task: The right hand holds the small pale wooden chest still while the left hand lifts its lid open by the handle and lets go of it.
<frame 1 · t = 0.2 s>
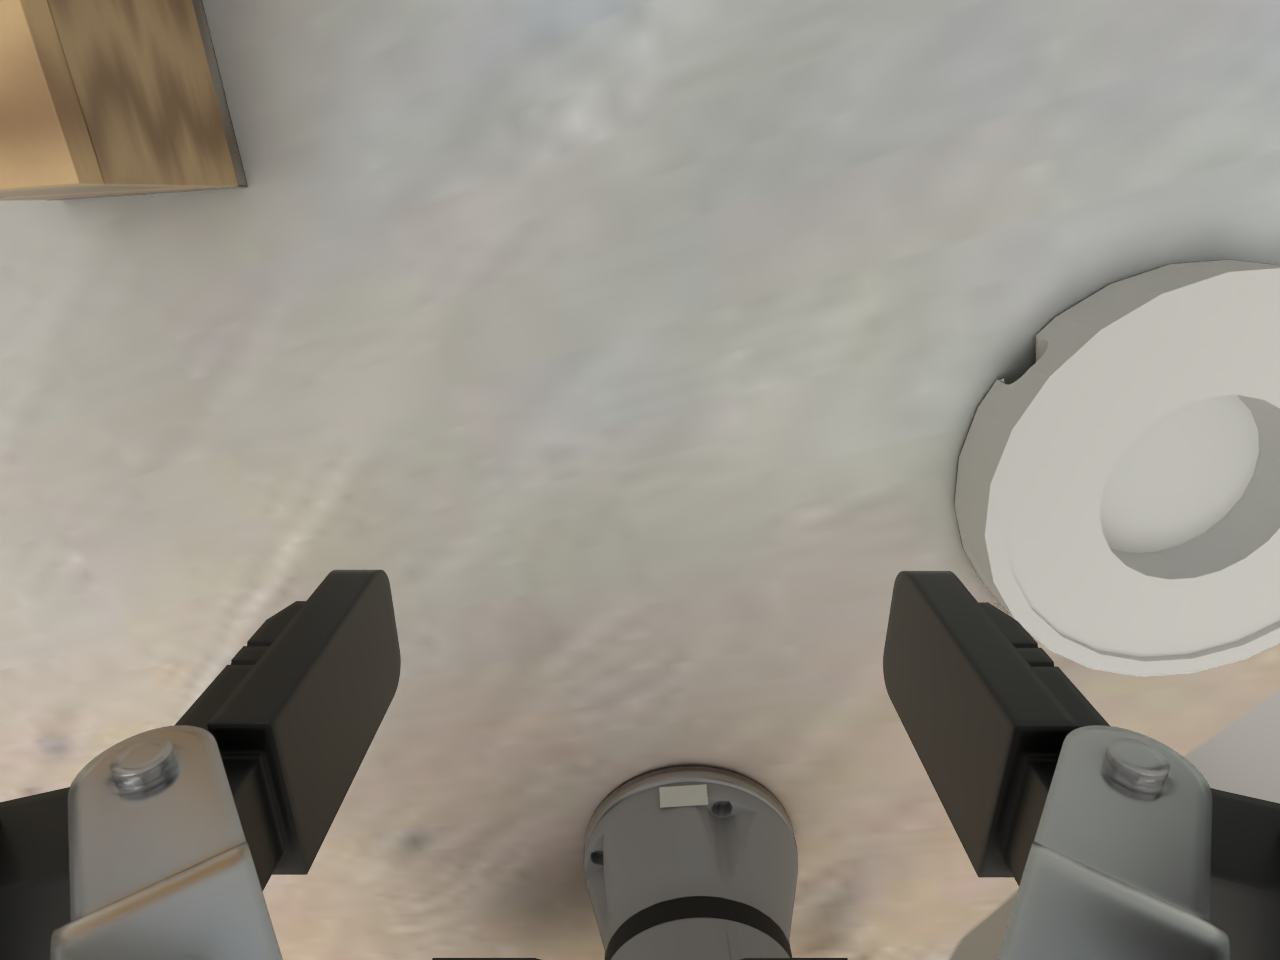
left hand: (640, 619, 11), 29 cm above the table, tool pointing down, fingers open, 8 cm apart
ashtray: (1154, 466, 42), on the table
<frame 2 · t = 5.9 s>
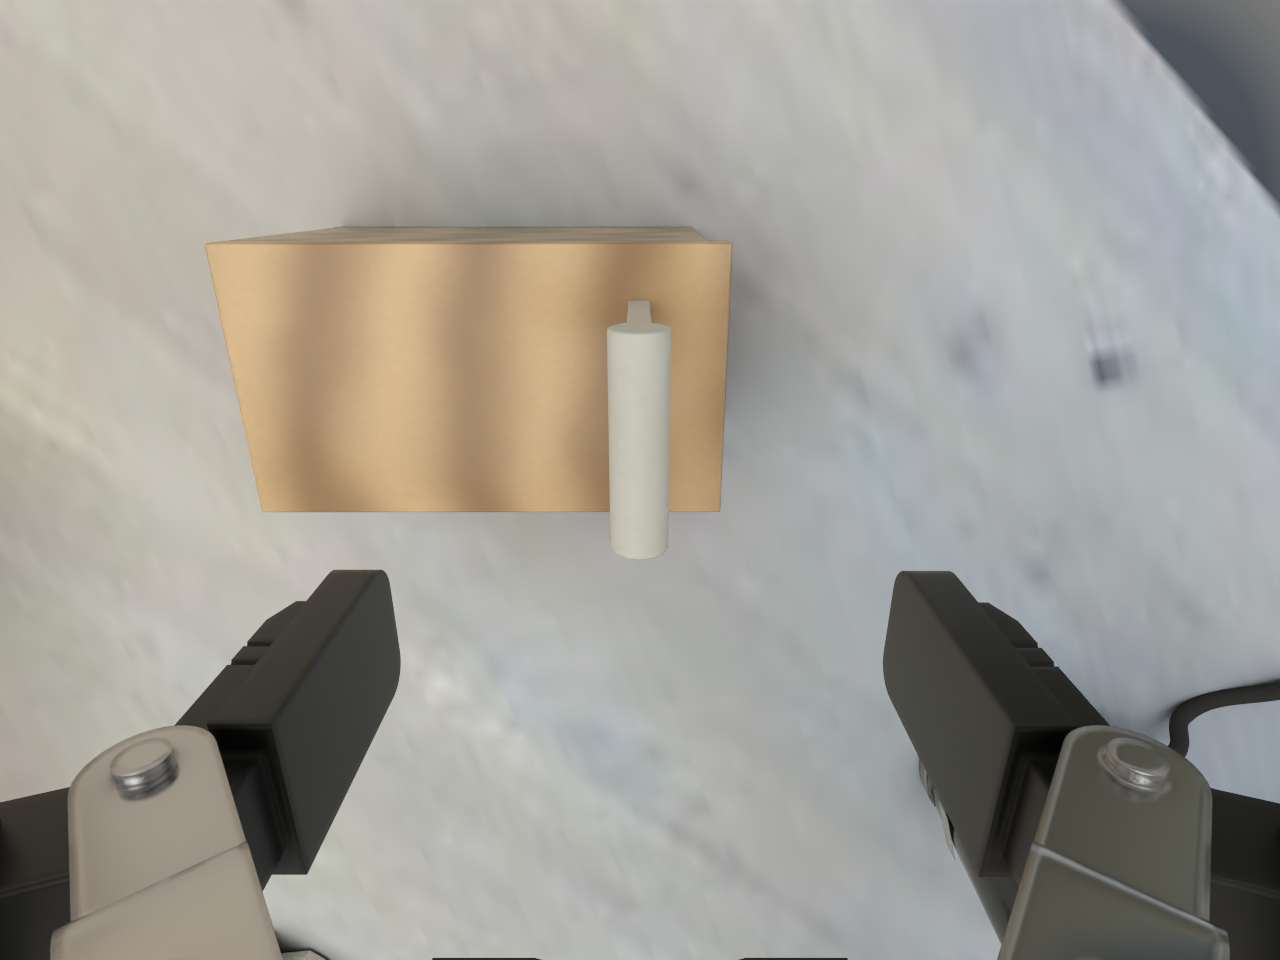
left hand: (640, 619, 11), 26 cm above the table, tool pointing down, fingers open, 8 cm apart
lid: (462, 410, 23), point 14 cm above the table, hinge at 0.0°
chest: (521, 328, 36), on the table
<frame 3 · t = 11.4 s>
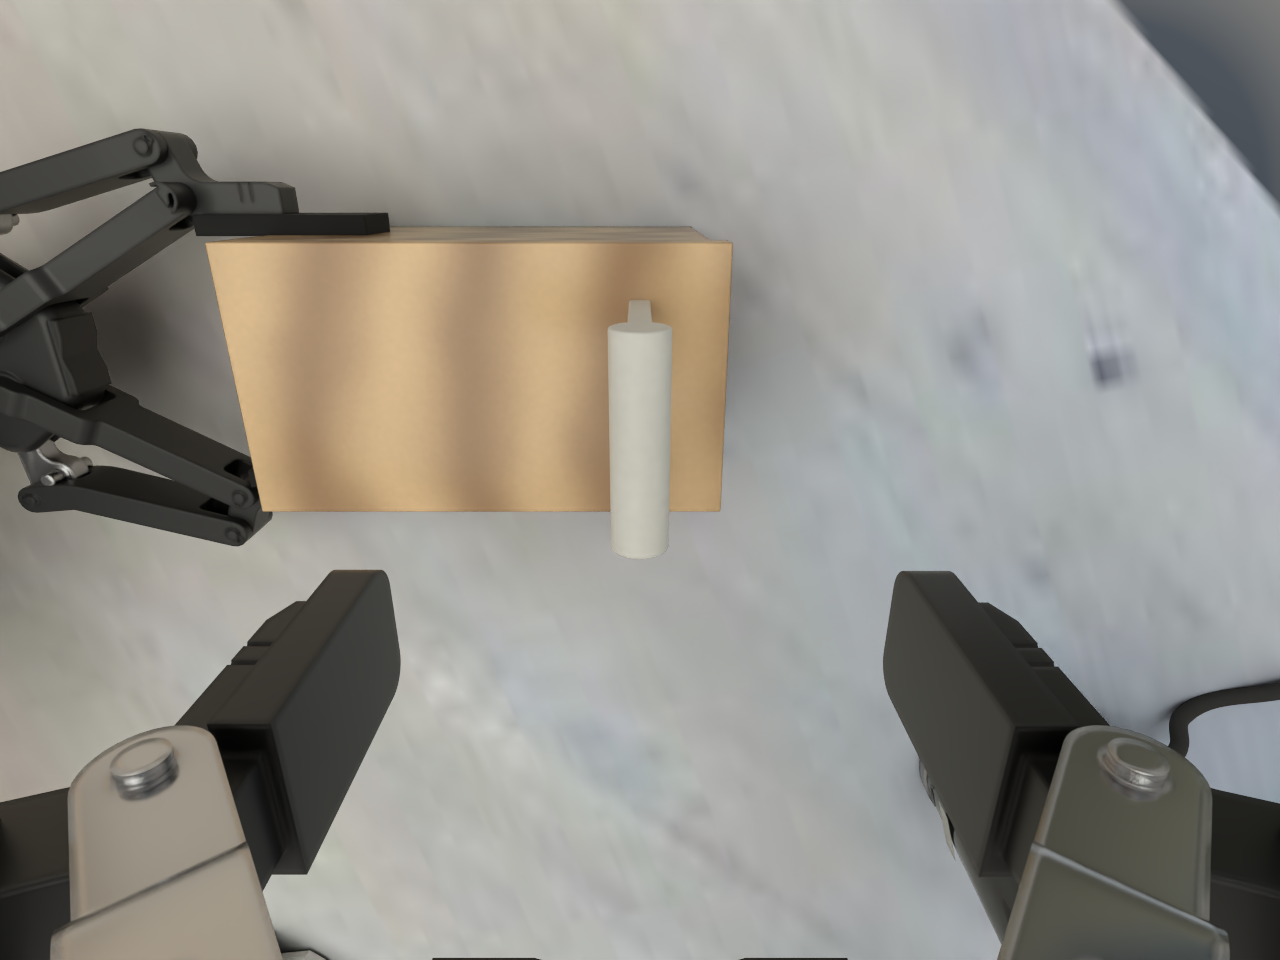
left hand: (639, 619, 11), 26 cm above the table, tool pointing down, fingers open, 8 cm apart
right hand: (394, 353, 30), fingers closed on chest, 10 cm apart
lid: (462, 409, 23), point 14 cm above the table, hinge at 0.0°
chest: (522, 328, 36), on the table, touching right hand
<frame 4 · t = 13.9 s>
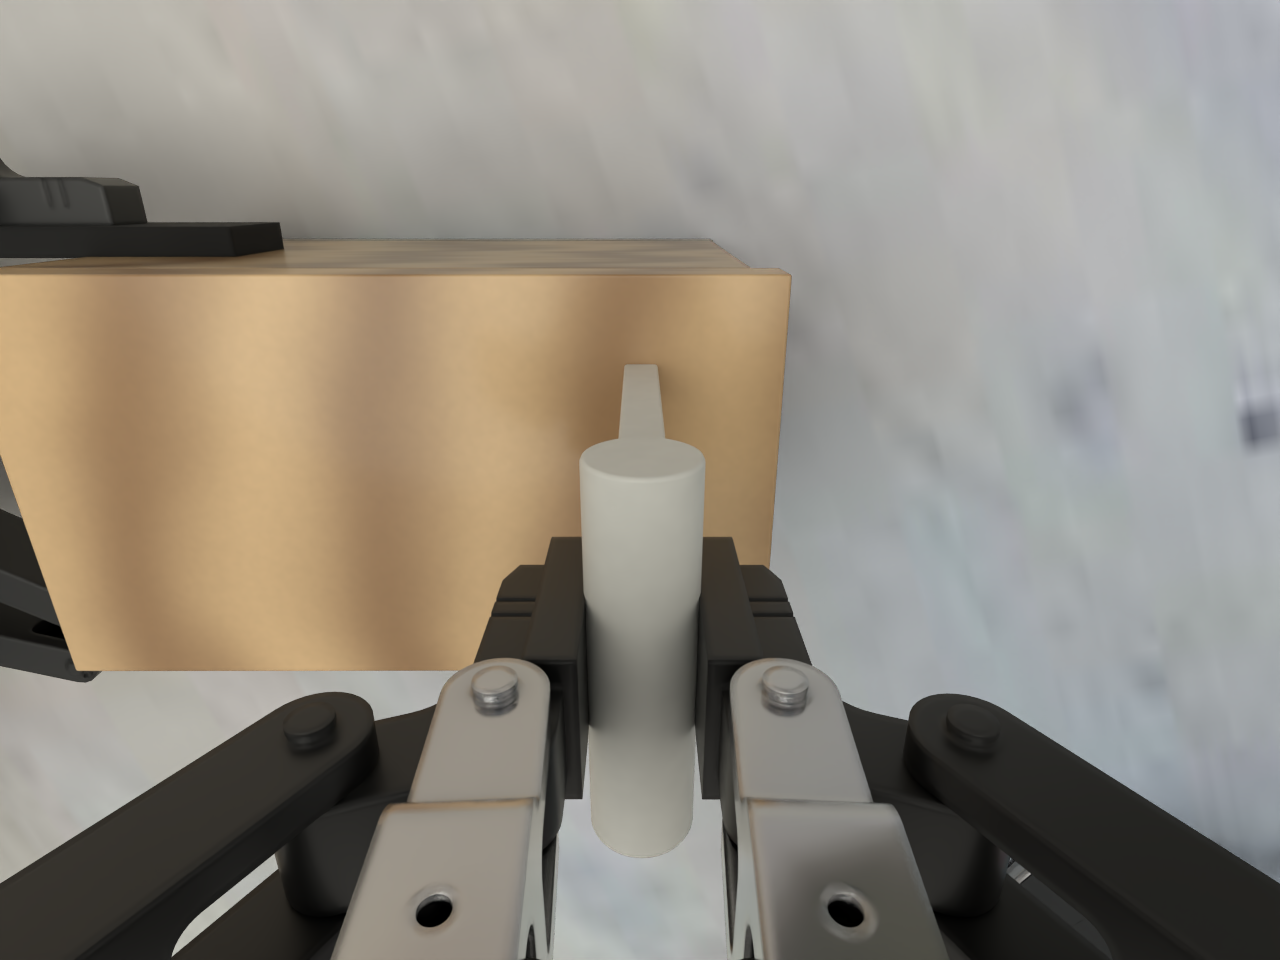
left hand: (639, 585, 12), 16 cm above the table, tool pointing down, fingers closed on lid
lid: (348, 552, 14), point 14 cm above the table, hinge at -0.1°, touching left hand
chest: (484, 374, 27), on the table, touching right hand
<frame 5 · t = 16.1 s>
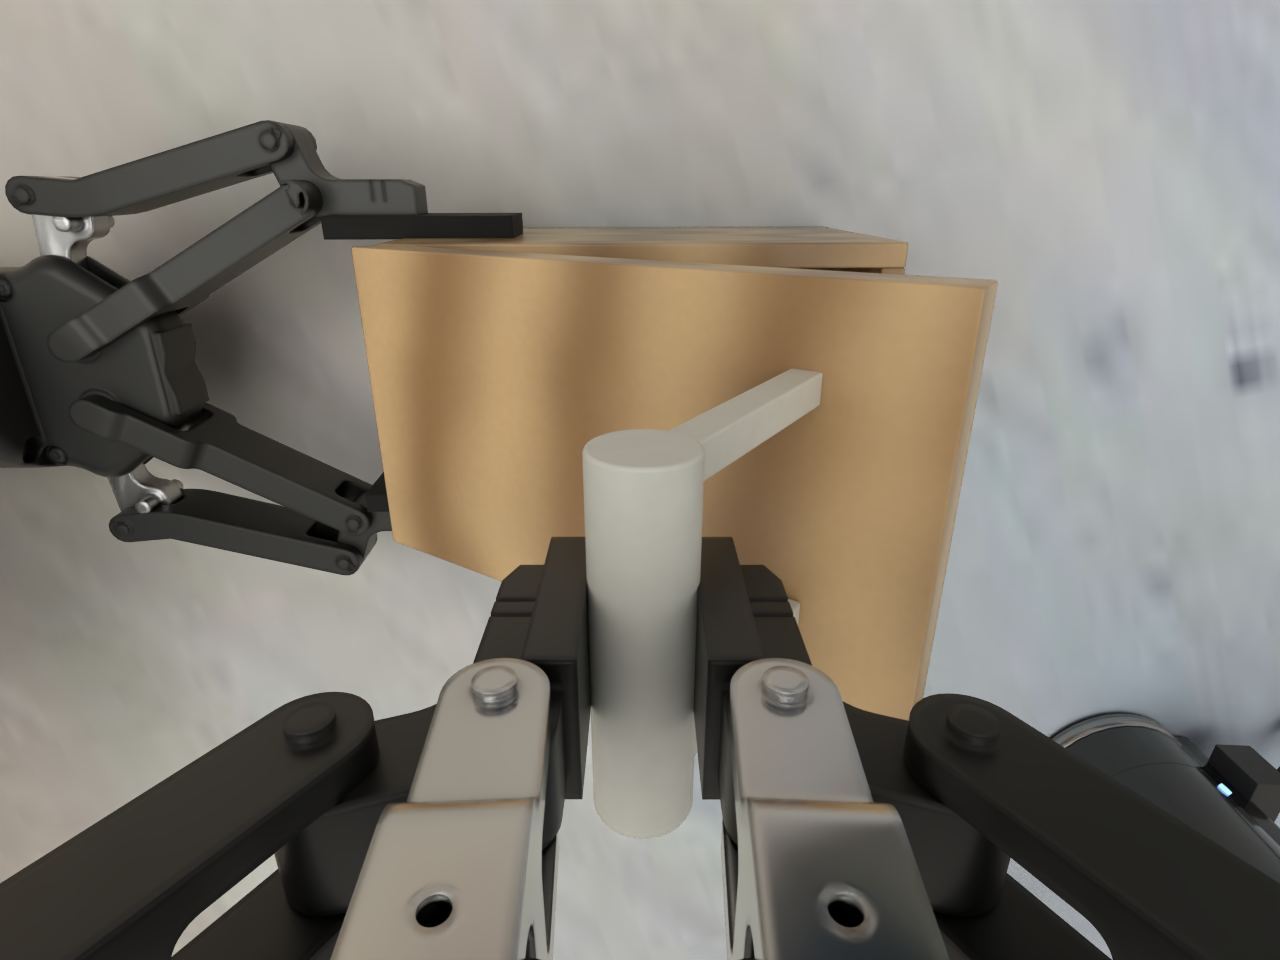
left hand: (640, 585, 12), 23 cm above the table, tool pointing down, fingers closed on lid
right hand: (526, 365, 28), fingers closed on chest, 10 cm apart
lid: (516, 492, 16), point 19 cm above the table, hinge at 34.8°, touching left hand
chest: (637, 335, 34), on the table, touching right hand
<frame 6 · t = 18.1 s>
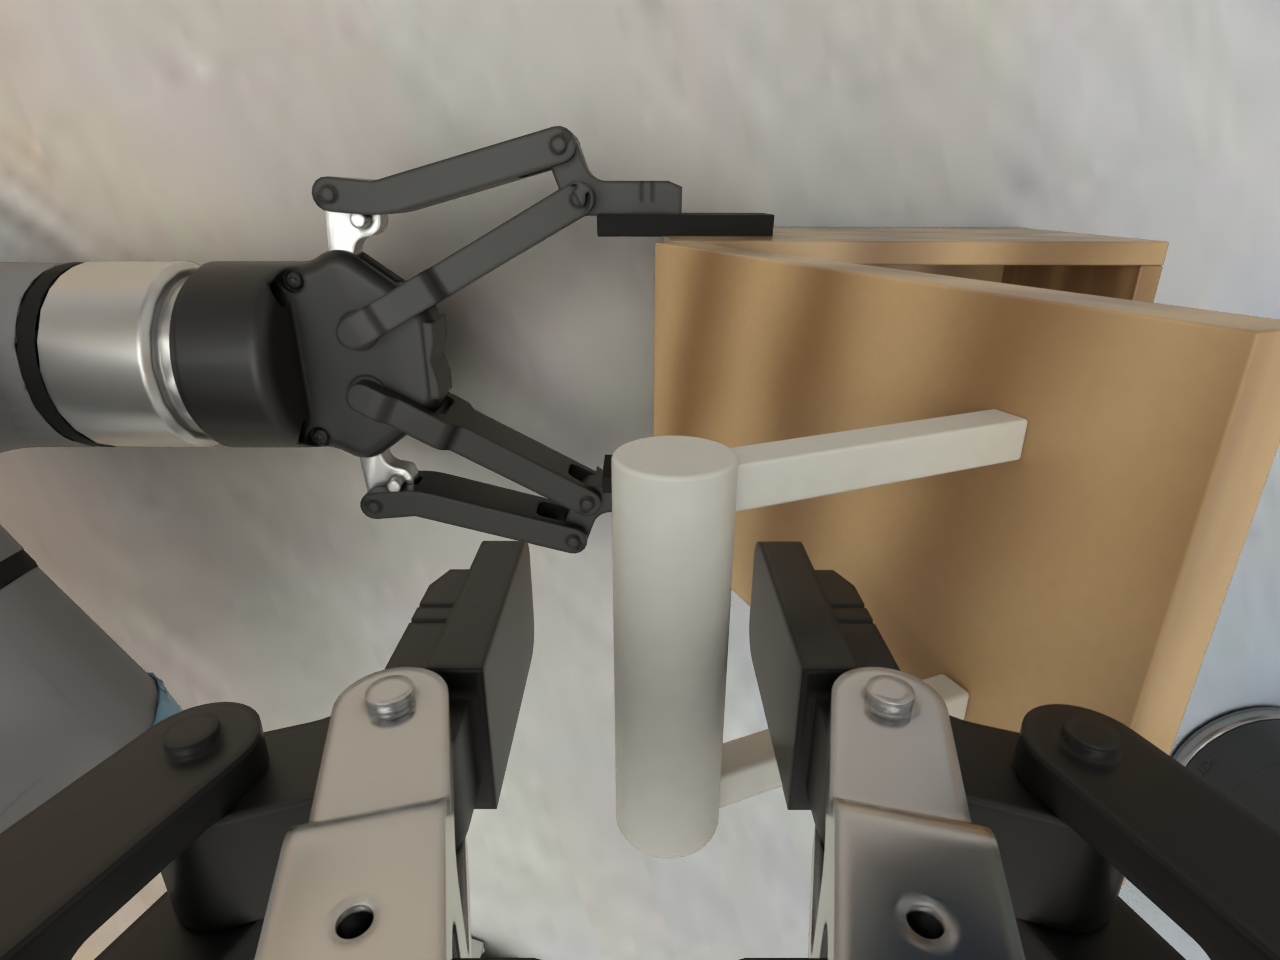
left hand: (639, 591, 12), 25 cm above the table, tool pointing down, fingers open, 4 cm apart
right hand: (758, 356, 30), fingers closed on chest, 10 cm apart
lid: (695, 488, 17), point 20 cm above the table, hinge at 66.7°
chest: (831, 331, 35), on the table, touching right hand
when the right hand's fingers open (6 cm above the table, at t = 21.6 s): chest stays where it is, on the table.
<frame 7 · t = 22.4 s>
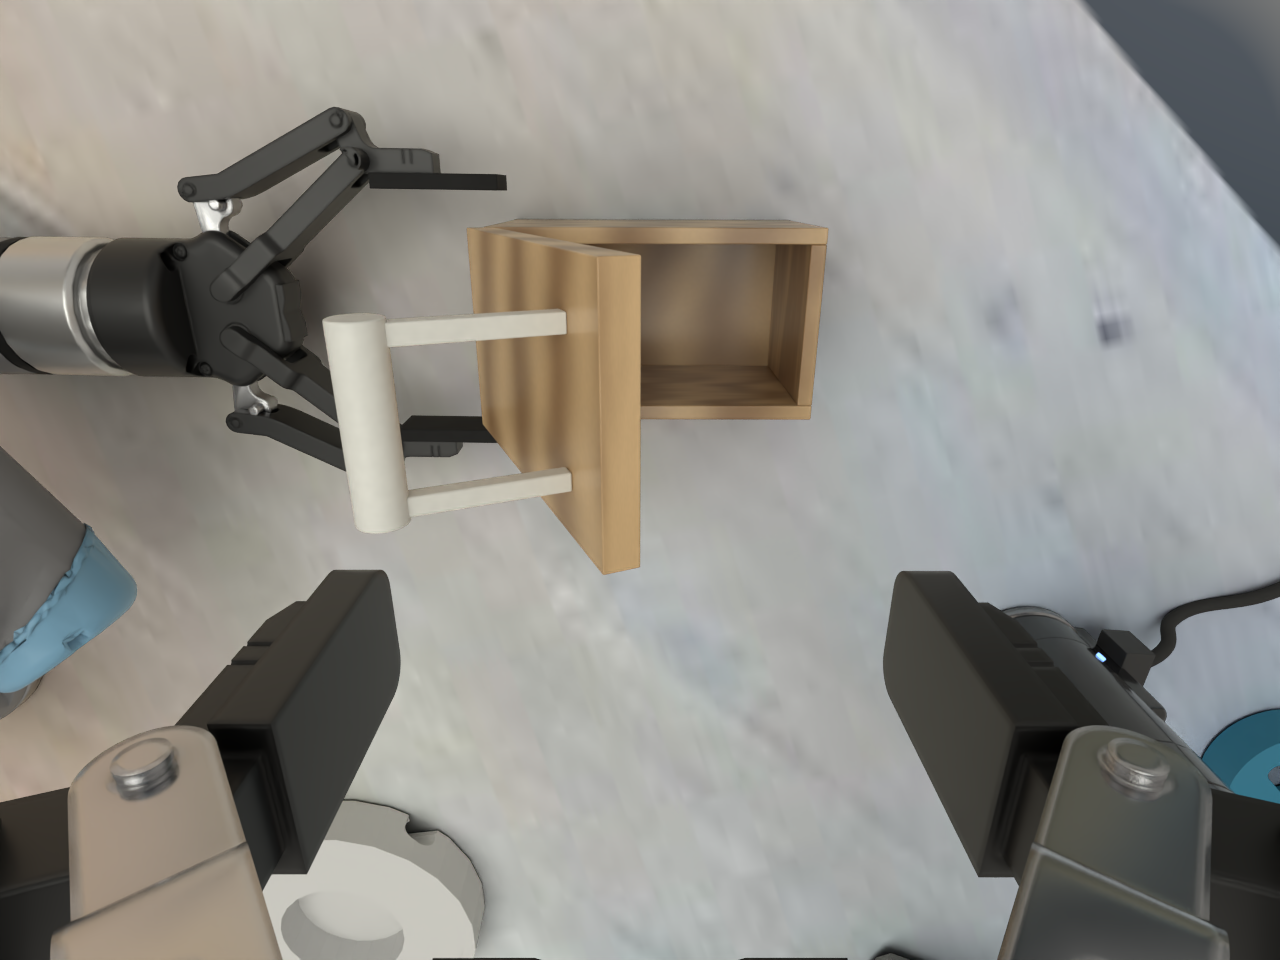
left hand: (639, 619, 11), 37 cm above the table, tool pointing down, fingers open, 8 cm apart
right hand: (509, 314, 40), fingers open, 13 cm apart
ashtray: (358, 894, 66), on the table
lid: (448, 374, 27), point 20 cm above the table, hinge at 66.1°
chest: (651, 299, 46), on the table
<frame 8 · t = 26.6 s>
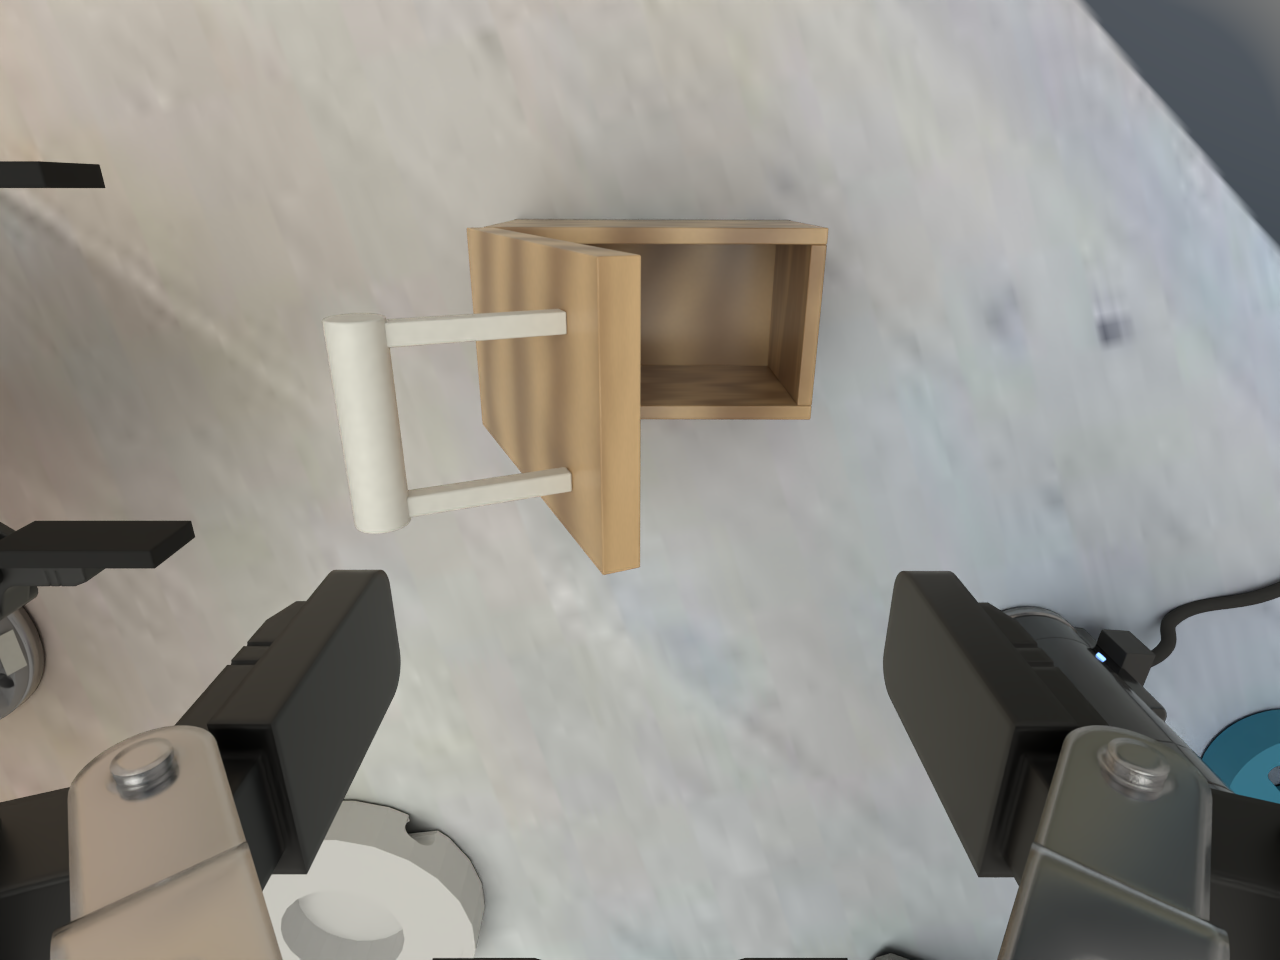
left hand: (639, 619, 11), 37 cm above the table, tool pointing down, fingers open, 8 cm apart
ashtray: (358, 894, 66), on the table
lid: (448, 374, 27), point 20 cm above the table, hinge at 66.1°
chest: (651, 299, 46), on the table
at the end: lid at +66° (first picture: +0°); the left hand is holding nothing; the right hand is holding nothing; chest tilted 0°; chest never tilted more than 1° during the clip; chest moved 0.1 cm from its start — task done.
